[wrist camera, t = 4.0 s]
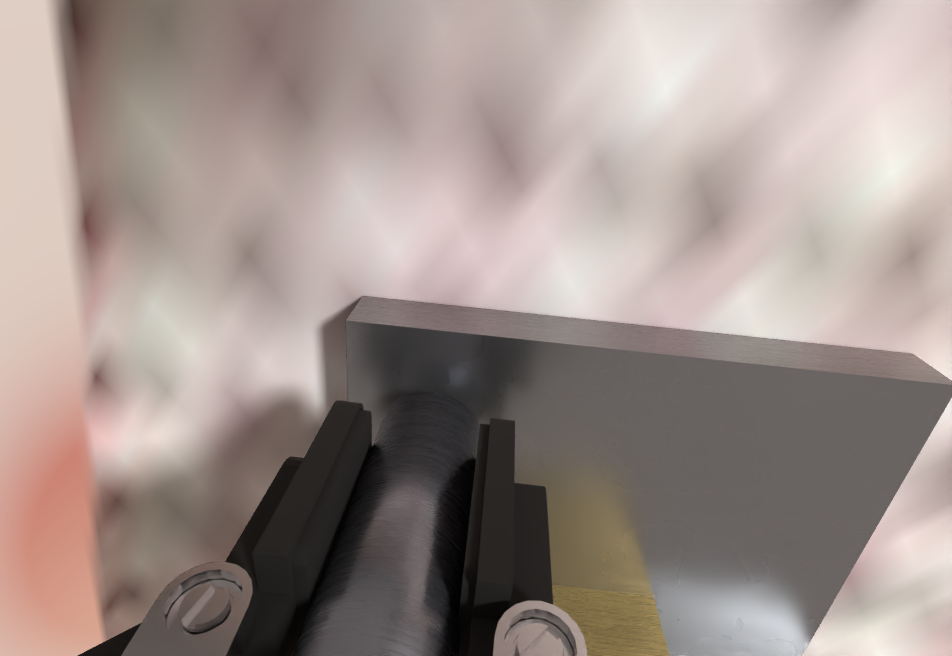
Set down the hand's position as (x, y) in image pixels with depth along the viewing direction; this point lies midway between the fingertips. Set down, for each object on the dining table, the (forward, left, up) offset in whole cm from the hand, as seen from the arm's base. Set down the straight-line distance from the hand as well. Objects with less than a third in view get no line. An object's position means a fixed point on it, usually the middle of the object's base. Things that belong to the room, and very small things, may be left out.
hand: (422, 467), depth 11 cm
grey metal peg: (0, 0, -1) cm, 1 cm away
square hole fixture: (+7, +5, -3) cm, 9 cm away
